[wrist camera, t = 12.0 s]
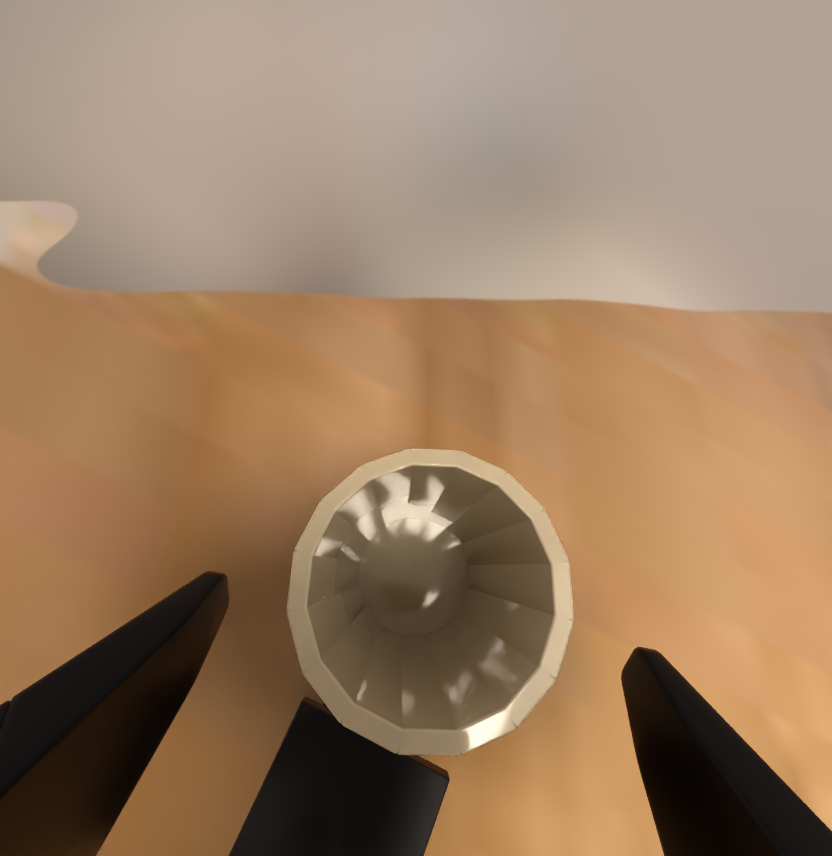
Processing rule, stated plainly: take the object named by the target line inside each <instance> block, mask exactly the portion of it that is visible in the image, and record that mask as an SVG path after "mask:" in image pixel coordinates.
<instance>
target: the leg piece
mask: <svg viewBox="0 0 832 856" xmlns="http://www.w3.org/2000/svg"><path fill="white" fill-rule="evenodd" d="M448 783H449V775H448V772H447V771H446V770H444V769H442V768H440V767H438V766H437V765H435V764H433V763H431V762H429V761H427V760H425V759H423V758H421V757H420V756H418V755H399V754H398V753H393V752H391V751H389V750H387V749H385V748H383V747H382V746H380V745H378V744H376V743H374V742H372V741H370V740H368V739H367V738H365V737H363V736H361V735H359V734H357V733H355V732H353V731H352V730H350V729H348V728H346V727H344V726H343V725H342V723H339V722H338V721H337V719H336V718H335V717H334V715H333V714H332V713H331V711H330V710H329V709H328V707H327V706H326V705H325V703H323V705H322V704H320V703H318V702H316V701H314V700H312V699H311V698H309V697H307V696H305V697H304V698H303V700H302V701H301V703H300V705H299V707H298V710H297V712H296V714H295V716H294V718H293V720H292V722H291V724H290V727H289V729H288V731H287V733H286V735H285V737H284V739H283V741H282V744H281V746H280V748H279V750H278V752H277V754H276V756H275V758H274V761H273V763H272V765H271V767H270V769H269V771H268V773H267V775H266V778H265V780H264V782H263V784H262V786H261V788H260V790H259V792H258V795H257V797H256V799H255V801H254V803H253V805H252V807H251V809H250V812H249V814H248V816H247V818H246V820H245V822H244V824H243V826H242V829H241V831H240V833H239V835H238V837H237V839H236V841H235V843H234V846H233V848H232V850H231V852H230V854H229V856H424V853H425V850H426V847H427V844H428V841H429V838H430V835H431V833H432V830H433V827H434V824H435V821H436V818H437V815H438V812H439V809H440V807H441V804H442V801H443V798H444V795H445V792H446V789H447V786H448Z"/></svg>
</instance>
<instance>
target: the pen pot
mask: <svg viewBox="0 0 832 856" xmlns="http://www.w3.org/2000/svg"><path fill="white" fill-rule="evenodd" d="M286 609H287V617H288V621H289V625H290V629H291V633H292V637H293V641H294V645H295V649H296V653H297V657H298V661H299V665H300V669H301V671H302V672H303V675H304V677H305V678H306V679H307V681H308V682H309V683H310V685H311V686H312V687H313V689H314V690H315V691H316V693H317V694H318V695H319V697H320V698H321V699H322V701H323V702H324V703H325V705H326V706H327V707H328V709H329V710H330V711H331V713H332V714H333V715H334V717H335V718H336V719H337V721H338V722H339V723H342V725H343V726H344V727H346V728H348V729H350V730H352V731H353V732H355V733H357V734H359V735H361V736H363V737H365V738H367V739H368V740H370V741H372V742H374V743H376V744H378V745H380V746H382V747H383V748H385V749H387V750H389V751H391V752H393V753H398V754H399V755H426V756H459V755H464V754H466V753H468V752H470V751H472V750H474V749H476V748H479V747H481V746H483V745H485V744H487V743H489V742H491V741H493V740H495V739H497V738H500V737H502V736H504V735H506V734H508V733H510V732H512V731H514V730H515V729H516V728H518V727H519V726H520V725H521V724H522V722H523V721H524V720H525V719H526V717H527V716H528V715H529V714H530V713H531V711H532V710H533V709H534V708H535V706H536V705H537V704H538V703H539V701H540V700H541V699H542V698H543V697H544V695H545V694H546V693H547V692H548V690H549V689H550V688H551V687H552V686H553V684H554V683H555V681H556V680H555V679H557V678H558V675H559V671H560V668H561V664H562V661H563V658H564V654H565V651H566V647H567V644H568V640H569V637H570V634H571V630H572V627H573V623H574V621H573V620H574V611H573V599H572V587H571V575H570V563H569V561H568V557H567V555H566V553H565V550H564V548H563V546H562V544H561V542H560V540H559V538H558V535H557V533H556V531H555V529H554V527H553V525H552V523H551V520H550V518H549V516H548V514H547V512H546V510H544V507H543V506H542V505H541V504H540V503H539V502H538V501H537V500H536V499H535V498H534V497H533V496H532V495H531V494H530V493H529V492H528V491H527V490H526V489H525V488H524V487H523V486H521V485H520V484H519V483H518V482H517V481H516V480H515V479H514V478H513V477H512V476H511V475H510V474H509V473H508V472H506V471H505V470H503V469H501V468H499V467H497V466H494V465H492V464H490V463H488V462H485V461H483V460H481V459H479V458H476V457H474V456H472V455H470V454H467V453H465V452H463V451H459V450H444V449H421V448H411V449H405V450H402V451H399V452H397V453H394V454H391V455H388V456H385V457H382V458H379V459H377V460H374V461H371V462H368V463H365V464H363V465H362V466H359V467H358V468H357V469H356V470H355V471H353V472H352V473H351V474H350V475H349V476H348V477H347V478H345V479H344V480H343V481H342V482H341V483H340V484H338V485H337V486H336V487H335V488H334V489H333V490H331V491H330V492H329V493H328V494H327V495H326V496H325V497H323V498H322V501H320V502H319V504H318V506H317V507H316V509H315V511H314V513H313V515H312V517H311V519H310V521H309V522H308V524H307V526H306V528H305V530H304V532H303V534H302V536H301V537H300V539H299V541H298V543H297V545H296V547H295V551H294V553H293V559H292V567H291V575H290V582H289V590H288V598H287V606H286Z"/></svg>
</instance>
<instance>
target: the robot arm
mask: <svg viewBox="0 0 832 856" xmlns="http://www.w3.org/2000/svg"><path fill="white" fill-rule="evenodd" d="M228 605H229V591H228V579H227V576H226V575H225V574H223V573H218V572H212V571H208V572H205V573H203V574H201V575H200V576H198V577H197V578H195V579H194V580H192V581H191V582H189V583H188V584H186V585H185V586H183V587H181V588H180V589H178V590H177V591H175V592H174V593H172V594H171V595H169V596H168V597H166V598H165V599H163V600H161V601H160V602H158V603H157V604H155V605H154V606H152V607H151V608H149V609H148V610H146V611H145V612H143V613H142V614H140V615H138V616H137V617H135V618H134V619H132V620H131V621H129V622H128V623H126V624H125V625H123V626H122V627H120V628H118V629H117V630H115V631H114V632H112V633H111V634H109V635H108V636H106V637H105V638H103V639H102V640H100V641H98V642H97V643H95V644H94V645H92V646H91V647H89V648H88V649H86V650H85V651H83V652H82V653H80V654H78V655H77V656H75V657H74V658H72V659H71V660H69V661H68V662H66V663H65V664H63V665H62V666H60V667H59V668H57V669H55V670H54V671H52V672H51V673H49V674H48V675H46V676H45V677H43V678H42V679H40V680H39V681H37V682H35V683H34V684H32V685H31V686H29V687H28V688H26V689H25V690H23V691H22V692H20V693H19V694H17V695H15V696H14V697H13V698H12V700H11V701H6V702H4V703H3V704H1V705H0V856H96V855H97V853H98V852H99V850H100V848H101V846H102V845H103V843H104V841H105V839H106V837H107V836H108V834H109V832H110V830H111V829H112V827H113V825H114V823H115V822H116V820H117V818H118V816H119V815H120V813H121V811H122V809H123V808H124V806H125V804H126V802H127V801H128V799H129V797H130V795H131V794H132V792H133V790H134V788H135V787H136V785H137V783H138V781H139V779H140V778H141V776H142V774H143V772H144V771H145V769H146V767H147V765H148V764H149V762H150V760H151V758H152V757H153V755H154V753H155V751H156V750H157V748H158V746H159V744H160V743H161V741H162V739H163V737H164V736H165V734H166V732H167V730H168V729H169V727H170V725H171V723H172V721H173V720H174V718H175V716H176V714H177V713H178V711H179V709H180V707H181V706H182V704H183V702H184V700H185V699H186V697H187V695H188V693H189V691H190V690H191V688H192V686H193V684H194V682H195V680H196V678H197V676H198V674H199V672H200V669H201V667H202V665H203V663H204V660H205V658H206V656H207V654H208V652H209V649H210V647H211V645H212V643H213V640H214V638H215V636H216V634H217V631H218V629H219V627H220V625H221V623H222V620H223V618H224V616H225V614H226V611H227V608H228ZM621 680H622V686H623V691H624V696H625V702H626V707H627V712H628V717H629V722H630V727H631V732H632V737H633V743H634V748H635V752H636V757H637V761H638V765H639V769H640V773H641V776H642V780H643V783H644V787H645V790H646V794H647V797H648V801H649V804H650V808H651V811H652V814H653V818H654V821H655V825H656V828H657V832H658V835H659V839H660V842H661V846H662V849H663V852H664V856H832V831H831V830H830V829H829V828H828V827H827V826H826V825H825V824H824V823H823V822H822V821H821V820H820V819H819V818H818V817H817V816H816V815H815V813H814V812H813V811H812V810H811V809H810V808H809V807H808V806H807V805H806V804H805V803H804V802H803V801H802V800H801V799H800V798H799V797H798V796H797V795H796V794H795V793H794V792H793V791H792V790H791V788H790V787H789V786H788V785H787V784H786V783H785V782H784V781H783V780H782V779H781V778H780V777H779V776H778V775H777V774H776V773H775V772H774V771H773V770H772V769H771V768H770V767H769V766H768V765H767V764H766V762H765V761H764V760H763V759H762V758H761V757H760V756H759V755H758V754H757V753H756V752H755V751H754V750H753V749H752V748H751V747H750V746H749V745H748V744H747V743H746V742H745V741H744V740H743V739H742V738H741V736H740V735H739V734H738V733H737V732H736V731H735V730H734V729H733V728H732V727H731V726H730V725H729V724H728V723H727V722H726V721H725V720H724V719H723V718H722V717H721V716H720V715H719V714H718V713H717V712H716V710H715V709H714V708H713V707H712V706H711V705H710V704H709V703H708V702H707V701H706V700H705V699H704V698H703V697H702V696H701V695H700V694H699V693H698V692H697V691H696V690H695V689H694V688H693V687H692V685H691V684H690V683H689V682H688V681H687V680H686V679H685V678H684V677H683V676H682V675H681V674H680V673H679V672H678V671H677V670H676V669H675V668H674V667H673V666H672V665H671V664H670V663H669V662H668V661H667V659H666V658H665V657H664V656H663V655H662V654H661V653H659V652H658V651H656V650H654V649H648V648H643V647H637V648H635V649H634V651H633V652H632V654H631V656H630V657H629V659H628V661H627V663H626V664H625V666H624V668H623V670H622V675H621Z"/></svg>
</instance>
